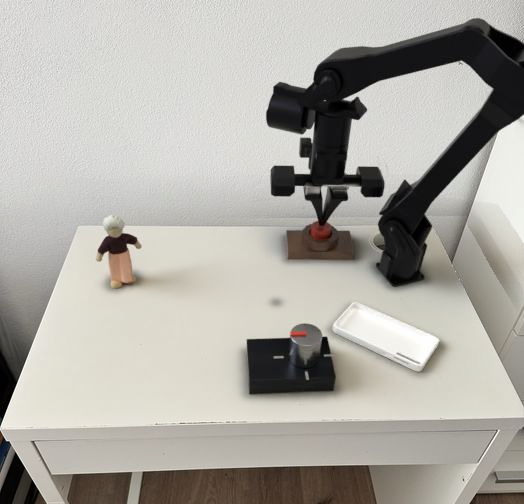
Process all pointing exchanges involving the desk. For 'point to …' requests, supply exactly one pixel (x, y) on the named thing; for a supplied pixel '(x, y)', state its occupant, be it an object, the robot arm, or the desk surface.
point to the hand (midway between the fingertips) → (321, 224)
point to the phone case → (386, 335)
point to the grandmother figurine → (117, 251)
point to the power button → (320, 230)
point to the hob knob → (305, 345)
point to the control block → (319, 245)
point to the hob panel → (286, 368)
